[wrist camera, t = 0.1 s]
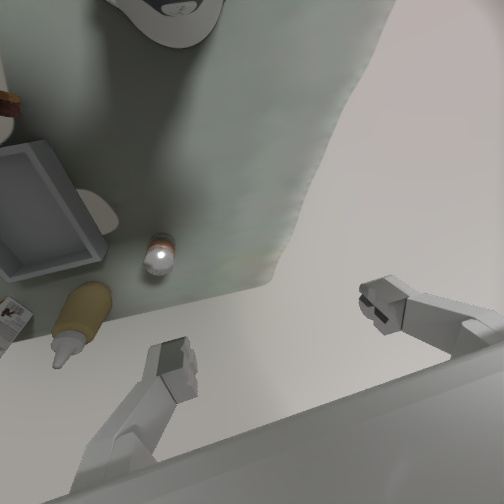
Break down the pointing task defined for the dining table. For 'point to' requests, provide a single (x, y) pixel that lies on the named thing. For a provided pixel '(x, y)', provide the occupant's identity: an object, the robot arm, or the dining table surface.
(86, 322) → the squeeze bottle
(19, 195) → the box
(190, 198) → the dining table surface
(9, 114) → the wooden carving
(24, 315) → the coffee box
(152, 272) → the grey capped jar
